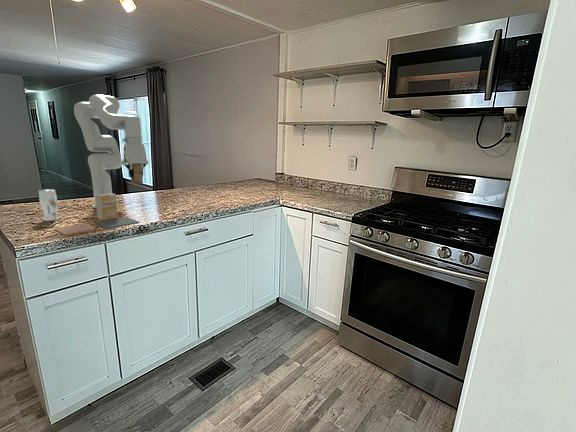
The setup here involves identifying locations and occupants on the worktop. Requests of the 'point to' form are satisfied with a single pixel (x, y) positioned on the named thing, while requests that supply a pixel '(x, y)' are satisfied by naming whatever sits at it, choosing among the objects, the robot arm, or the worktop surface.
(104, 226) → the mat
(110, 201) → the supplement box
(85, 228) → the pad
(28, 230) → the worktop surface
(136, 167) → the walnut block
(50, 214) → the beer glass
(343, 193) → the worktop surface
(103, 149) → the robot arm
